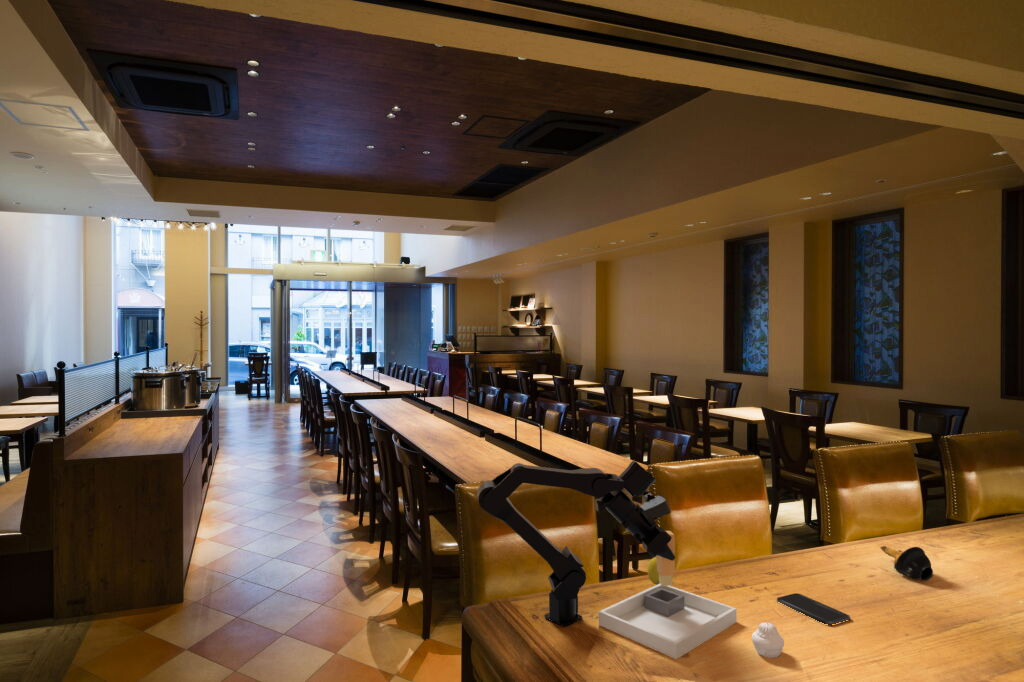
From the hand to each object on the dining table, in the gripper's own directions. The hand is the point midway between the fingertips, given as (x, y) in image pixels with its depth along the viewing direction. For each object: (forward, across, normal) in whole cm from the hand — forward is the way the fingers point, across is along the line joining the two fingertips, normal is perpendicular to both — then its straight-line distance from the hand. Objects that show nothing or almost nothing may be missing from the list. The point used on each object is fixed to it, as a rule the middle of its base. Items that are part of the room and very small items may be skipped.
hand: (671, 556), depth 143 cm
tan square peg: (+4, 0, +6) cm, 7 cm away
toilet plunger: (+61, +18, -43) cm, 77 cm away
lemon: (+11, +16, +8) cm, 21 cm away
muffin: (+18, -22, +1) cm, 28 cm away
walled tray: (+7, -7, +12) cm, 16 cm away
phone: (+34, -2, -14) cm, 37 cm away
